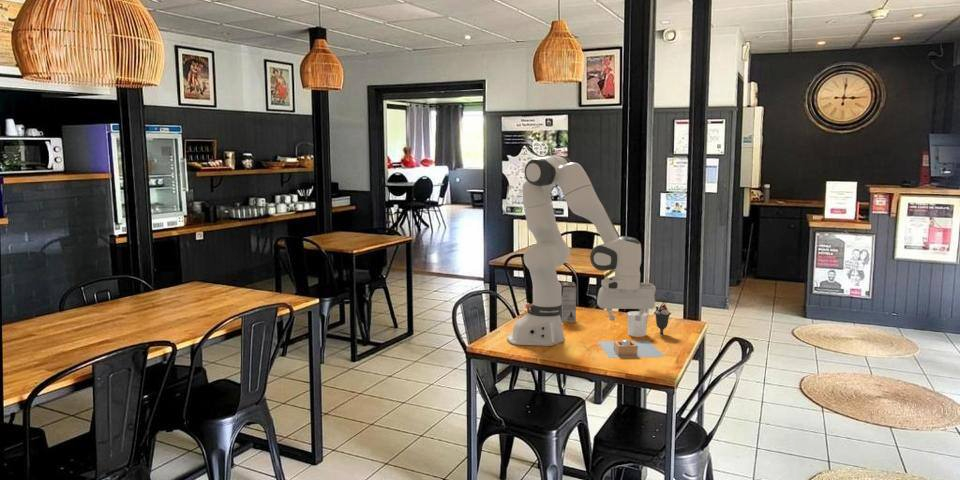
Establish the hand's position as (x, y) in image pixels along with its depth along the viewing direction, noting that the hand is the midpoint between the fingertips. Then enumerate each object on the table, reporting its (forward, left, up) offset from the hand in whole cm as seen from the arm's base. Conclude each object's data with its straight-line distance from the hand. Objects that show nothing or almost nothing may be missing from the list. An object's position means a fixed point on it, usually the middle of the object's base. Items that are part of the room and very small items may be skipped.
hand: (624, 320), depth 237 cm
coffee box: (-11, +55, -14) cm, 57 cm away
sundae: (+21, +24, -14) cm, 35 cm away
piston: (0, 0, -12) cm, 12 cm away
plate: (+3, +5, -13) cm, 15 cm away
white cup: (+11, +24, -14) cm, 30 cm away
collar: (0, 0, -12) cm, 12 cm away
